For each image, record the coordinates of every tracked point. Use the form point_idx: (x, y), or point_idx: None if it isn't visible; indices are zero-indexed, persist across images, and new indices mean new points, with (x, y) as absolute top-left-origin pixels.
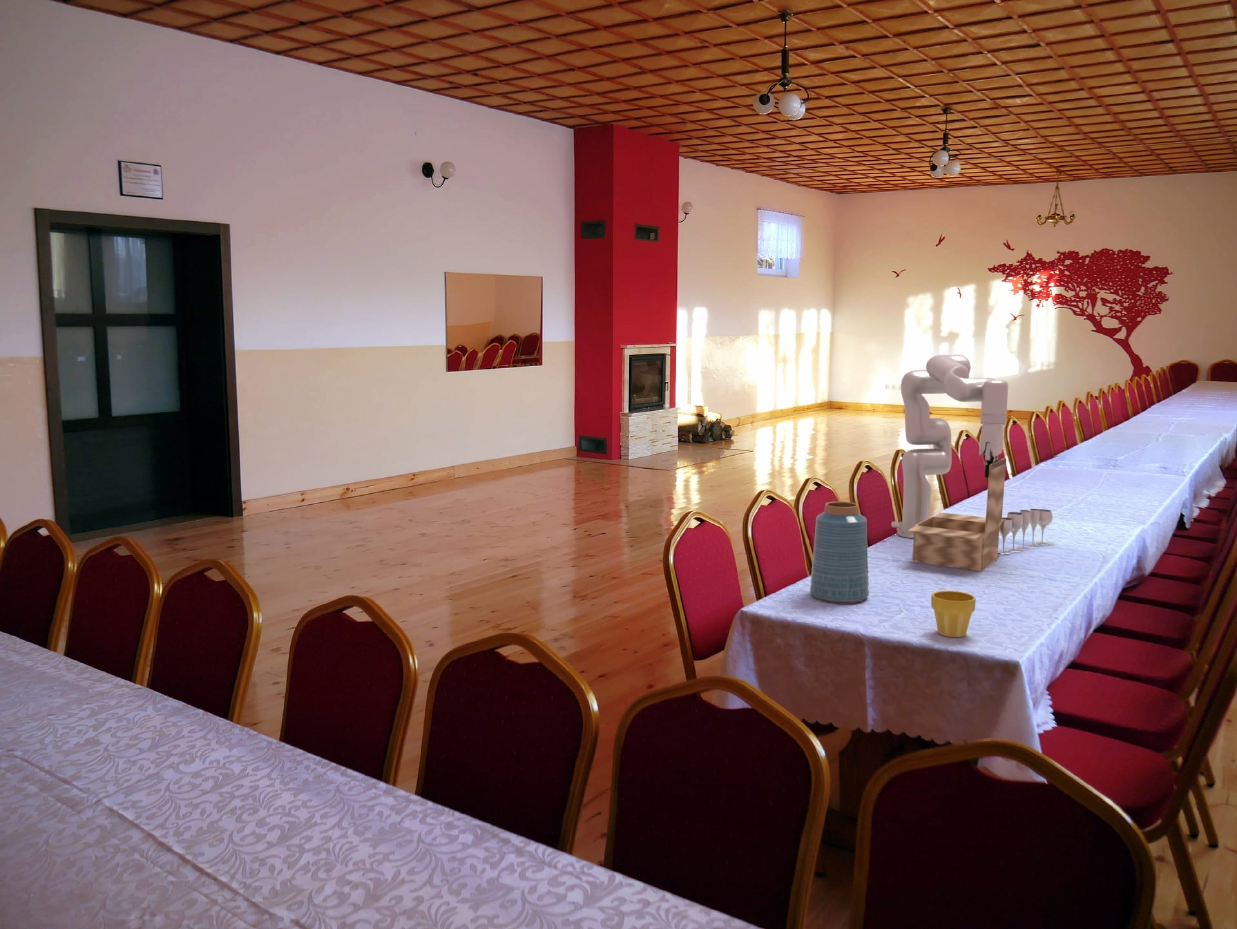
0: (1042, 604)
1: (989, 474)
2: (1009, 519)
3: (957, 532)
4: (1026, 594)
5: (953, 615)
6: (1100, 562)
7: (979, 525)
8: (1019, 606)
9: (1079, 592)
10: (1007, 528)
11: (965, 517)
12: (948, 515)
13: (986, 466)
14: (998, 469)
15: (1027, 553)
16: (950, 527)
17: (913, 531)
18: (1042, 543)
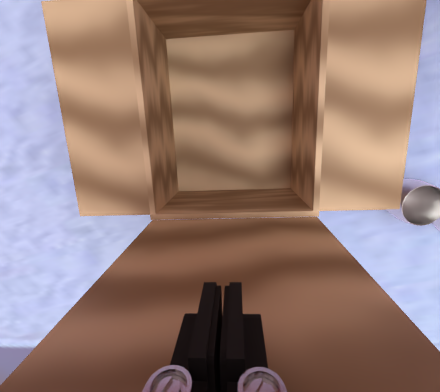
0: (43, 319)
1: (2, 387)
2: (438, 213)
3: (118, 152)
4: (78, 291)
5: None
6: None
7: (312, 156)
8: (9, 297)
9: None
10: (388, 210)
11: (371, 91)
12: (381, 21)
13: (192, 353)
14: None
15: (391, 226)
16: (311, 63)
17: (46, 25)
18: None
